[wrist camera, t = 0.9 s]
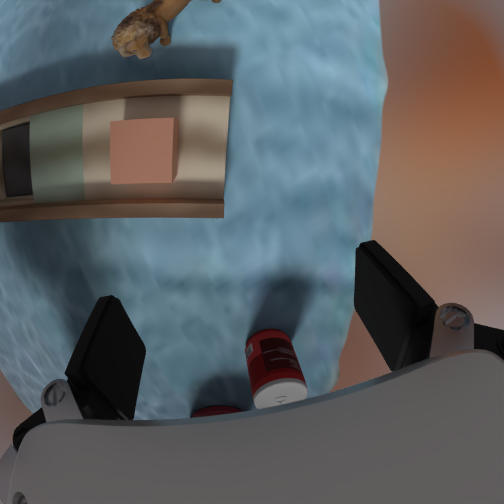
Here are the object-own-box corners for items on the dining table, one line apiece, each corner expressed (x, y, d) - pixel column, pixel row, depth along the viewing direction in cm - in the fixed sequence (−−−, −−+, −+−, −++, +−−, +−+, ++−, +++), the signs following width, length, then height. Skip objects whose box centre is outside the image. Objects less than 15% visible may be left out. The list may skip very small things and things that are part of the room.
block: (177, 175, 28) (171, 183, 24) (123, 176, 27) (110, 184, 23) (179, 118, 25) (173, 117, 21) (123, 121, 24) (110, 121, 20)
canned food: (254, 366, 46) (265, 418, 36) (236, 338, 42) (244, 394, 32) (295, 351, 45) (313, 401, 36) (282, 320, 42) (301, 374, 32)
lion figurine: (155, 77, 25) (134, 60, 17) (121, 58, 23) (91, 40, 15) (234, -10, 21) (242, -47, 13) (199, -27, 19) (197, -65, 11)
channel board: (221, 204, 33) (223, 218, 28) (-3, 211, 27) (-22, 223, 23) (229, 87, 27) (232, 79, 22) (-9, 120, 21) (-31, 124, 17)
